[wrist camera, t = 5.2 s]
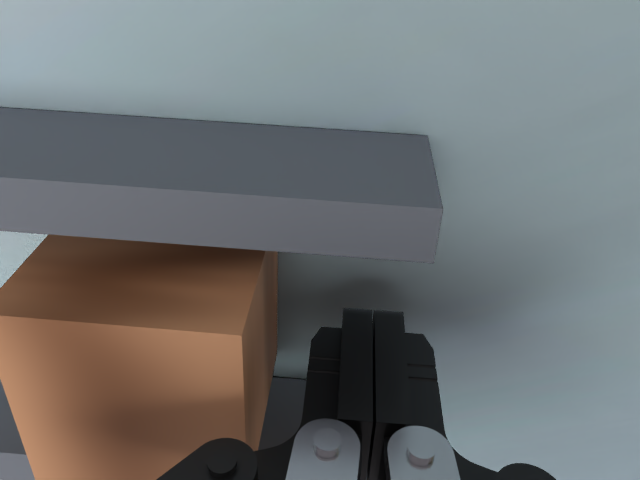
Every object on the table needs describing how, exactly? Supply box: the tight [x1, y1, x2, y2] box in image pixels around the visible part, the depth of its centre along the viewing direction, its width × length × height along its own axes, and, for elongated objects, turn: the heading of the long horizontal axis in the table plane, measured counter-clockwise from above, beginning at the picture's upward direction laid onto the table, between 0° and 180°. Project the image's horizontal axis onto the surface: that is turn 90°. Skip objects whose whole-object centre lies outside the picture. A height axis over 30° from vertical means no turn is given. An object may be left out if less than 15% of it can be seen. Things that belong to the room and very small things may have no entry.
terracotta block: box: [0, 234, 278, 480], centre depth 14 cm, size 5×5×5 cm
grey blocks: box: [0, 107, 443, 480], centre depth 15 cm, size 16×9×4 cm, turn 88°
